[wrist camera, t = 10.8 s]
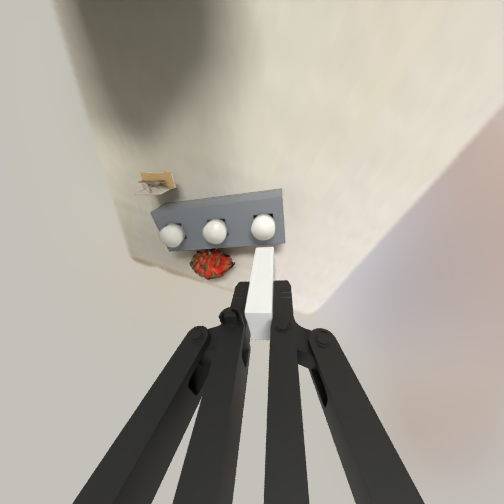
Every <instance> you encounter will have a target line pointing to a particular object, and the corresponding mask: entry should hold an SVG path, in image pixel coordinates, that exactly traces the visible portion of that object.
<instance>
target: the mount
mask: <svg viewBox="0 0 504 504" xmlns="http://www.w3.org/2000/svg"><path fill="white" fill-rule="evenodd" d="M272 213H273V219H274V220H275V233H274V235H273V237H272V238H270V239H268V240H258V239H256V238H255V237H254V236H253V234H252V232H251V227H252V223H253V220H254V218H255V217H256V216H257V215H259V214H272ZM151 215H152V217H153V219H154V221H155V223H156V225H157V228H158V230H159V232H160V231H161V230H162V229H163V228H164V227H165V226H167V225H168V224H171V223H174V224H177V223H181V225H182V227H183V230H184V232H185V238H184V240H183V241H182V242H181V243H180V244H179V245H178V246H177V247H168V246H167V248H168V250H169V252H171V251H185V250H198V249H212V248H226V247H240V246H254V245H267V244H281V243H285V229H284V215H283V200H282V189H274V190H267V191H259V192H251V193H243V194H236V195H228V196H220V197H213V198H205V199H197V200H190V201H182V202H174V203H167V204H164V205H162V206H161V207H159V208H157V209H156V210H154V211H153V212H151ZM224 218H225V222H226V225H227V227H228V233H227V235H226V237H225V239H224V241H223V242H222V243H220V244H212V243H210V242H208V241H207V240H206V239H205V238H204V236H203V229H204V227H205V226H206V225H207V223H208V222H209V221H210V220H212V219H224Z"/></svg>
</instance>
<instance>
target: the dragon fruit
mask: <svg viewBox="0 0 504 504" xmlns="http://www.w3.org/2000/svg"><path fill="white" fill-rule="evenodd" d="M218 249H219V250H220V251H221V252H219V253H217V249H216V248H212V249H211V250H210V251H208V249H205V250H206V251H205V252H204V253H203V252H201V251H197V254H196V255H194V256H193V258H192V260H191V262H190V263H189V264H190V266H191V267H193V268H192V269H193V270H194V271H195V273H196V274H198V273H199V276H201V277H203V276H204V277H205V278H206V279H208V280H209V279H213V278H217V277H218V278H219V277H222V276H223V275H224V274H225V273H226V272H227V271H228V270H229V269H230V268H232V267H233V266H234V265H235V262H234V264H233V262H232V261H231V260H232V258H231V257H230V256H229V255H227V254H225V256H227V257H225V256H223V255H222V254H223V250H222V248H218ZM213 250H214V251H213ZM211 251H212V252H211Z"/></svg>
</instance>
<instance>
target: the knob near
mask: <svg viewBox="0 0 504 504" xmlns="http://www.w3.org/2000/svg"><path fill="white" fill-rule="evenodd" d="M251 232H252V234H253V236H254V237H255V238H256V239H258V240H268V239H270V238H272V237H273V235H274V233H275V220H274V219H273V217H272V214H259V215H257V216H256V217H255V218H254V220H253V223H252V227H251Z"/></svg>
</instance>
